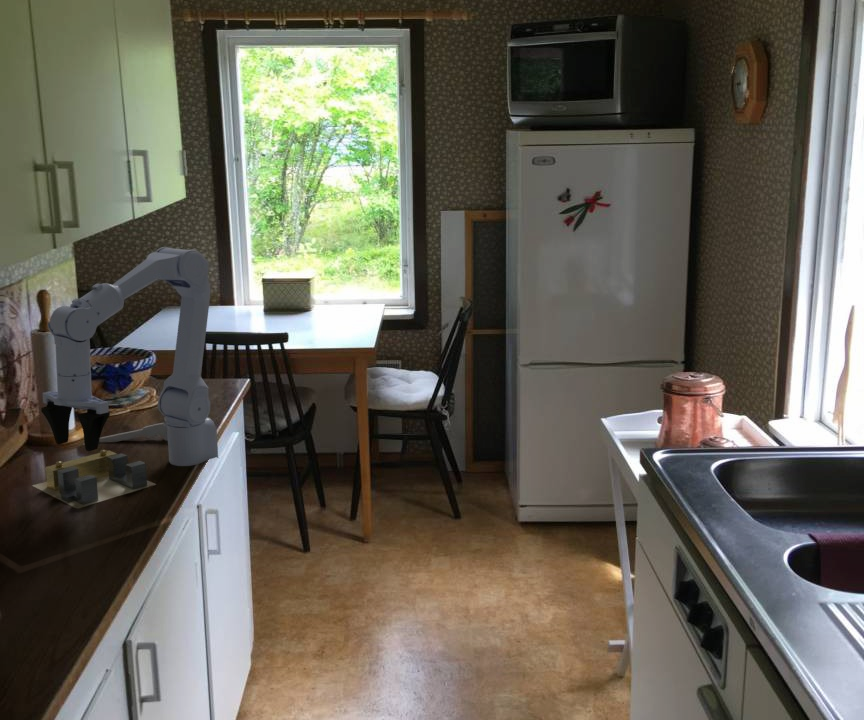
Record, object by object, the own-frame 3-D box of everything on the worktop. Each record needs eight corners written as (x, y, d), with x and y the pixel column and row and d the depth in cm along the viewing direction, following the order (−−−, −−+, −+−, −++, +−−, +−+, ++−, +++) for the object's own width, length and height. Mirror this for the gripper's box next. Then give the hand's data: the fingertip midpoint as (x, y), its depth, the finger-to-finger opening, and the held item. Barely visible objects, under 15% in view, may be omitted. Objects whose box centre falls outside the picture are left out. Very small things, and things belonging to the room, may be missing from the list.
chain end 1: (74, 489, 170) (72, 466, 169) (98, 500, 165) (96, 477, 164) (53, 495, 167) (51, 472, 166) (76, 507, 162) (74, 483, 160)
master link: (110, 469, 180) (108, 446, 179) (118, 473, 178) (116, 449, 177) (47, 487, 171) (44, 463, 170) (54, 491, 169) (52, 466, 168)
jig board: (109, 467, 184) (109, 464, 183) (156, 488, 173) (156, 484, 173) (32, 489, 172) (31, 485, 172) (77, 512, 161) (77, 508, 161)
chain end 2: (128, 473, 178) (127, 451, 177) (152, 483, 173) (151, 461, 172) (109, 479, 175) (107, 457, 174) (133, 489, 170) (131, 467, 169)
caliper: (178, 443, 200) (177, 415, 199) (178, 444, 199) (176, 417, 198) (83, 446, 198) (80, 418, 196) (81, 447, 197) (79, 420, 195)
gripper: (27, 372, 162) (30, 445, 165) (85, 382, 156) (88, 458, 158) (59, 365, 168) (62, 436, 171) (116, 375, 162) (118, 448, 165)
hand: (76, 446), depth 165 cm, fingers open, 7 cm apart
